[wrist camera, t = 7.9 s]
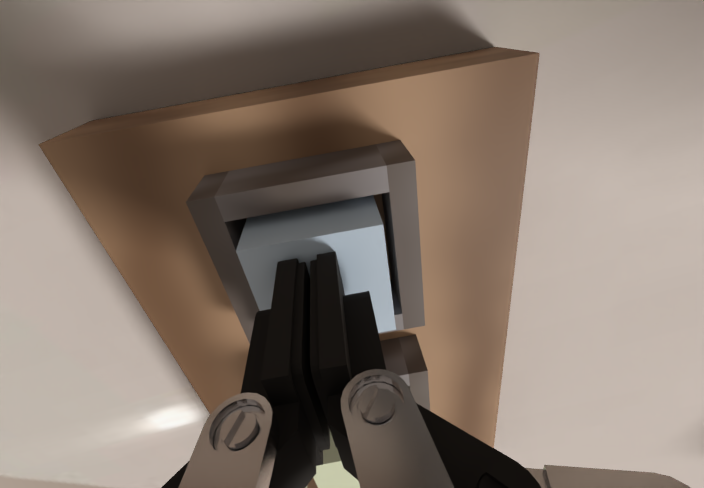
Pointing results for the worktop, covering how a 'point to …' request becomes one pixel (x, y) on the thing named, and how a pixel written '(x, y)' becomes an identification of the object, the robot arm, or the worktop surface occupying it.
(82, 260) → the worktop surface
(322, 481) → the green button
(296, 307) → the robot arm
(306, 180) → the console
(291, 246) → the blue button
